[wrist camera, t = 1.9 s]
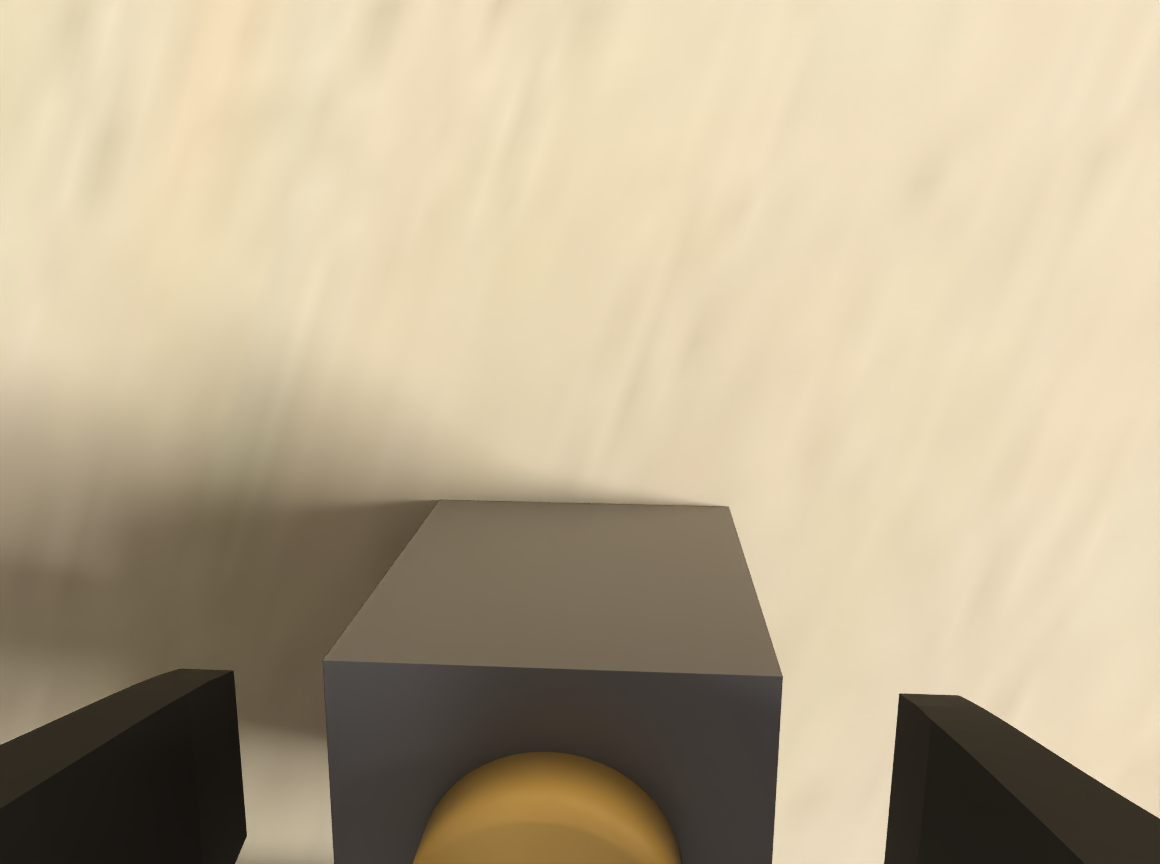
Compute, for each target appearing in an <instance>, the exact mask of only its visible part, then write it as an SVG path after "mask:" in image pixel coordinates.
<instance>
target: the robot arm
mask: <svg viewBox="0 0 1160 864" xmlns="http://www.w3.org/2000/svg"><path fill="white" fill-rule="evenodd" d="M246 836H247V831H246V819H245V806H244V794H243V781H242V769H241V757H240V744H239V732H238V719H237V707H236V695H235V682H234V671H228V670H199V669H178V670H175V671H171V672H168V673H165V674H162V675H159V676H156V677H153V678H151V679H148V680H146V681H143V682H141V683H138V684H136V685H133V686H131V687H129V688H126V689H124V690H121V691H119V692H117V693H115V694H112V695H110V696H108V697H106V698H103V699H101V700H99V701H97V702H94V703H92V704H90V705H88V706H86V707H83V708H81V709H79V710H77V711H75V712H72V713H70V714H68V715H66V716H64V717H61V718H59V719H57V720H55V721H53V722H50V723H48V724H46V725H44V726H42V727H39V728H37V729H35V730H33V731H31V732H28V733H26V734H24V735H22V736H20V737H17V738H15V739H13V740H11V741H9V742H6V743H4V744H2V745H0V864H235V862H236V860H237V858H238V855H239V853H240V851H241V848H242V846H243V844H244V841H245V839H246ZM884 864H1160V819H1159V818H1158V817H1156V816H1154V815H1153V814H1151V813H1149V812H1148V811H1146V810H1144V809H1143V808H1141V807H1139V806H1138V805H1136V804H1134V803H1133V802H1131V801H1129V800H1128V799H1126V798H1124V797H1123V796H1121V795H1119V794H1118V793H1116V792H1115V791H1113V790H1111V789H1110V788H1108V787H1106V786H1105V785H1103V784H1102V783H1100V782H1099V781H1097V780H1095V779H1094V778H1092V777H1091V776H1089V775H1087V774H1086V773H1084V772H1083V771H1081V770H1080V769H1078V768H1076V767H1075V766H1073V765H1072V764H1070V763H1069V762H1067V761H1065V760H1064V759H1062V758H1061V757H1059V756H1058V755H1056V754H1055V753H1053V752H1051V751H1050V750H1048V749H1047V748H1045V747H1044V746H1042V745H1041V744H1039V743H1037V742H1036V741H1034V740H1033V739H1031V738H1030V737H1028V736H1027V735H1025V734H1023V733H1022V732H1020V731H1019V730H1017V729H1016V728H1014V727H1013V726H1011V725H1009V724H1008V723H1006V722H1005V721H1003V720H1001V719H1000V718H998V717H996V716H995V715H993V714H992V713H990V712H988V711H987V710H985V709H983V708H982V707H980V706H978V705H976V704H974V703H973V702H971V701H969V700H967V699H965V698H963V697H961V696H956V695H927V694H899V704H898V716H897V727H896V738H895V749H894V761H893V772H892V783H891V794H890V806H889V817H888V828H887V840H886V851H885V862H884Z"/></svg>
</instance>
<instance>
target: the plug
mask: <svg viewBox="0 0 1160 864" xmlns="http://www.w3.org/2000/svg"><path fill="white" fill-rule="evenodd" d="M323 673H324V691H325V709H326V727H327V744H328V762H329V780H330V798H331V816H332V833H333V851H334V864H772V853H773V836H774V818H775V801H776V784H777V766H778V749H779V732H780V715H781V697H782V680H783V676H782V673H781V670H780V666H779V663H778V660H777V657H776V654H775V651H774V648H773V644H772V641H771V638H770V635H769V632H768V629H767V626H766V622H765V619H764V616H763V613H762V610H761V607H760V604H759V600H758V597H757V594H756V591H755V588H754V585H753V582H752V578H751V575H750V572H749V569H748V566H747V563H746V560H745V557H744V553H743V550H742V547H741V544H740V541H739V538H738V535H737V531H736V528H735V525H734V522H733V519H732V516H731V513H730V509H729V507H718V506H677V505H635V504H594V503H553V502H512V501H471V500H439V502H438V503H437V504H436V506H435V507H434V509H433V510H432V511H431V513H430V514H429V515H428V517H427V518H426V520H425V521H424V522H423V524H422V525H421V526H420V528H419V529H418V530H417V532H416V533H415V535H414V536H413V537H412V539H411V540H410V541H409V543H408V544H407V546H406V547H405V548H404V550H403V551H402V552H401V554H400V555H399V557H398V558H397V559H396V561H395V562H394V563H393V565H392V566H391V568H390V569H389V570H388V572H387V573H386V574H385V576H384V577H383V579H382V580H381V581H380V583H379V584H378V585H377V587H376V588H375V589H374V591H373V592H372V594H371V595H370V596H369V598H368V599H367V600H366V602H365V603H364V605H363V606H362V607H361V609H360V610H359V611H358V613H357V614H356V616H355V617H354V618H353V620H352V621H351V622H350V624H349V625H348V627H347V628H346V629H345V631H344V632H343V633H342V635H341V636H340V638H339V639H338V640H337V642H336V643H335V644H334V646H333V647H332V649H331V650H330V651H329V653H328V654H327V655H326V657H325V658H324V659H323Z"/></svg>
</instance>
